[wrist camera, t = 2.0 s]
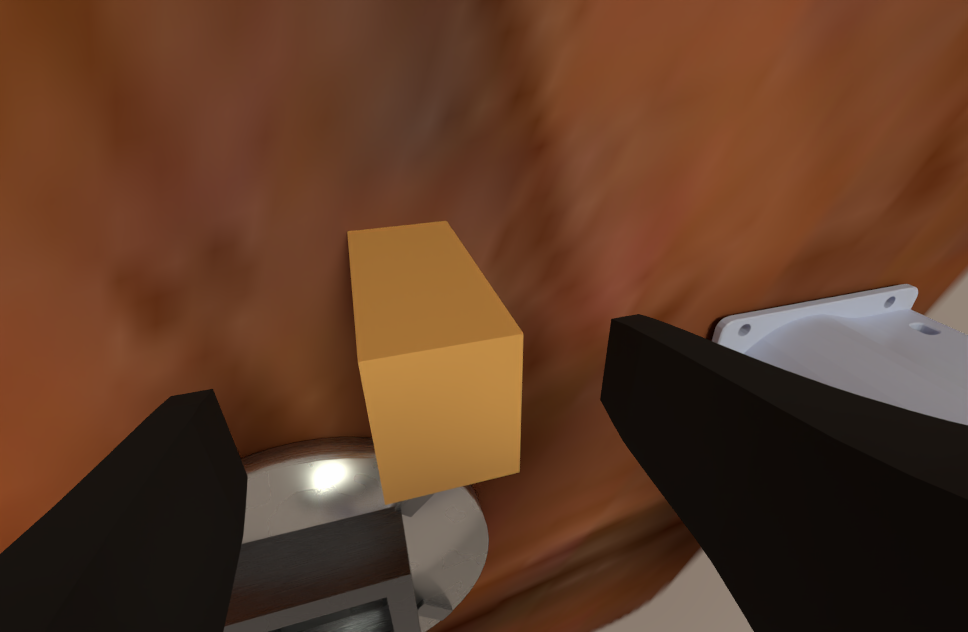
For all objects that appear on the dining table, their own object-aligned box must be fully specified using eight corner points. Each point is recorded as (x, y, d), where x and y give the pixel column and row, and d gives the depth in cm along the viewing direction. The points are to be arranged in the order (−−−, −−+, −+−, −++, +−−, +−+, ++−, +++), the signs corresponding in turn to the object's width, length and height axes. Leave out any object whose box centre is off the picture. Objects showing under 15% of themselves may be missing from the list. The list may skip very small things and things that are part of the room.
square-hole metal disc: (478, 404, 16) (511, 484, 13) (484, 599, 22) (508, 684, 19) (70, 488, 13) (-4, 612, 10) (206, 684, 19) (183, 799, 16)
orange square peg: (446, 221, 12) (523, 333, 7) (452, 322, 14) (519, 472, 9) (347, 231, 12) (357, 361, 7) (365, 336, 13) (384, 504, 8)
